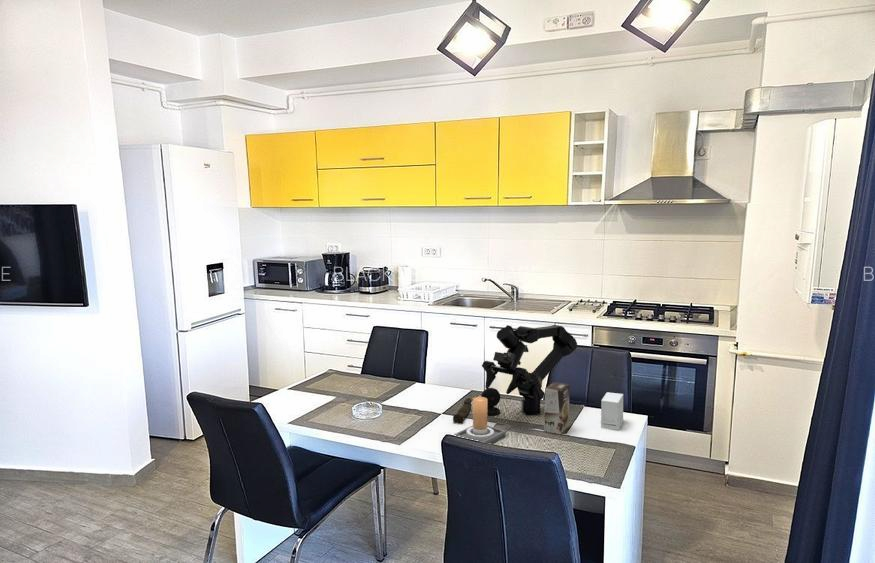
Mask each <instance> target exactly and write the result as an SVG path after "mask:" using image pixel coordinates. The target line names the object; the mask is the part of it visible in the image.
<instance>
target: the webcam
mask: <svg viewBox="0 0 875 563" xmlns="http://www.w3.org/2000/svg"><path fill="white" fill-rule="evenodd" d="M480 397H485V398H487V417H489V416H492V417H493V416H498V415H500V413H501V410H500V408H499V407H496V406H498V405H499V402H500V401H501V393H500V392H499V390H498V389H496V388H494V387H489V388H488V389H486V388H485V389H484V390H483V391H482V393H481V395H480Z"/></svg>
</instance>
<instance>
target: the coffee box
mask: <svg viewBox="0 0 875 563" xmlns="http://www.w3.org/2000/svg"><path fill="white" fill-rule="evenodd" d="M544 393H545V394H544V415H543V417H544V420H543V422H544V423H543V425H544V426H543V427H544V428H543V431H544V432H546V431H547V432H548V433H552V434H555V433H556V435H561V434H562V433H564V431H566V430H567V429H568V428H569V427H570V425H569V424H570V423H569V422H570V383H564V382H555V381H553V382H551V384H549V385H547V386H546V387H544Z"/></svg>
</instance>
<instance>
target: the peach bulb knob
mask: <svg viewBox="0 0 875 563" xmlns="http://www.w3.org/2000/svg"><path fill="white" fill-rule="evenodd" d="M487 412H488V410H487V398H485V397H481V396H476V397H473V398H472V426H473V434H475V435H487V425H488V415H487Z"/></svg>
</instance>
